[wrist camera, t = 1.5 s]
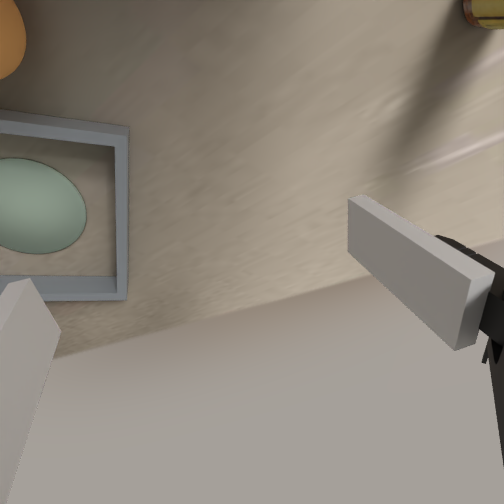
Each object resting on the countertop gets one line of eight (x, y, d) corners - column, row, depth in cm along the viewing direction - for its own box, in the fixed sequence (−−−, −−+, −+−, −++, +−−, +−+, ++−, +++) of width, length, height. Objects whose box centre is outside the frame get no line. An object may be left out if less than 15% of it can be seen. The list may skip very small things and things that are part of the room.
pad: (-49, 151, 28) (-51, 152, 28) (83, 164, 31) (82, 165, 31) (-22, 251, 33) (-23, 252, 33) (89, 254, 37) (88, 255, 36)
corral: (-130, 91, 25) (-160, 99, 23) (129, 126, 30) (127, 136, 28) (-61, 282, 34) (-76, 302, 32) (128, 283, 40) (126, 300, 37)
